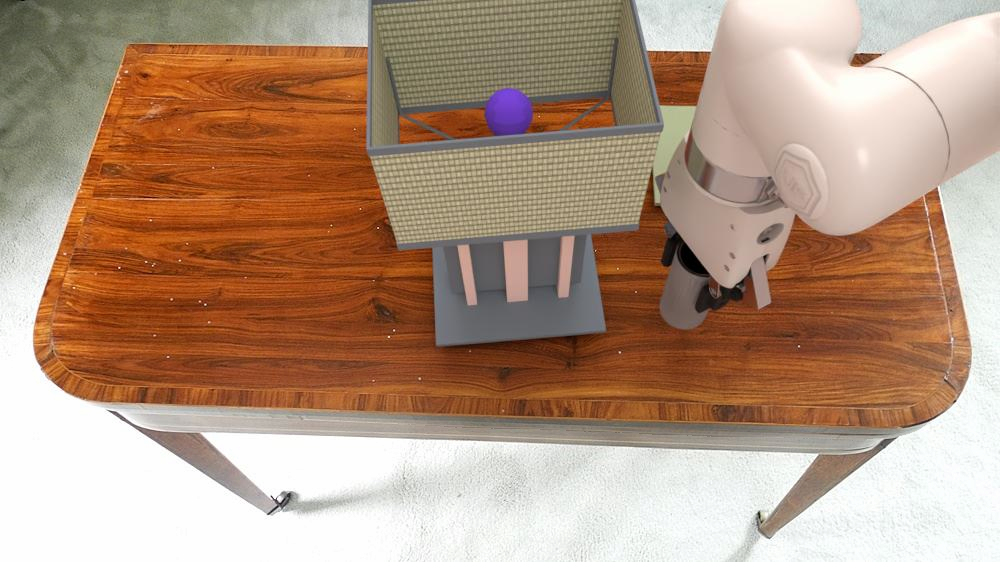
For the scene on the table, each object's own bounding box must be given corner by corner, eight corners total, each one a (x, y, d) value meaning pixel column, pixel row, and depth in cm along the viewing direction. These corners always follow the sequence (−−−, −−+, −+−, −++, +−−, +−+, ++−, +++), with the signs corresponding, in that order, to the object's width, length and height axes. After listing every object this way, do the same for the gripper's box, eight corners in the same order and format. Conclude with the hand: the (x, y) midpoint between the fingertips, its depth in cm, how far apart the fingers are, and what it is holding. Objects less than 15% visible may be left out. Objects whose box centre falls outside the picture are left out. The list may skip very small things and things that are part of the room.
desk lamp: (430, 355, 73) (366, 153, 44) (426, 235, 80) (368, -8, 51) (611, 339, 73) (665, 128, 44) (592, 222, 80) (628, -29, 51)
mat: (802, 111, 86) (804, 107, 86) (820, 209, 80) (822, 206, 79) (648, 108, 87) (649, 104, 87) (654, 206, 81) (655, 202, 80)
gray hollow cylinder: (654, 323, 70) (671, 269, 61) (664, 283, 72) (682, 225, 63) (701, 336, 69) (725, 283, 60) (710, 295, 71) (735, 238, 62)
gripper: (871, 219, 46) (786, 338, 62) (715, 52, 54) (675, 197, 70) (774, 268, 45) (713, 377, 61) (628, 90, 52) (608, 228, 68)
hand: (693, 280), depth 65 cm, fingers closed on gray hollow cylinder, 4 cm apart
